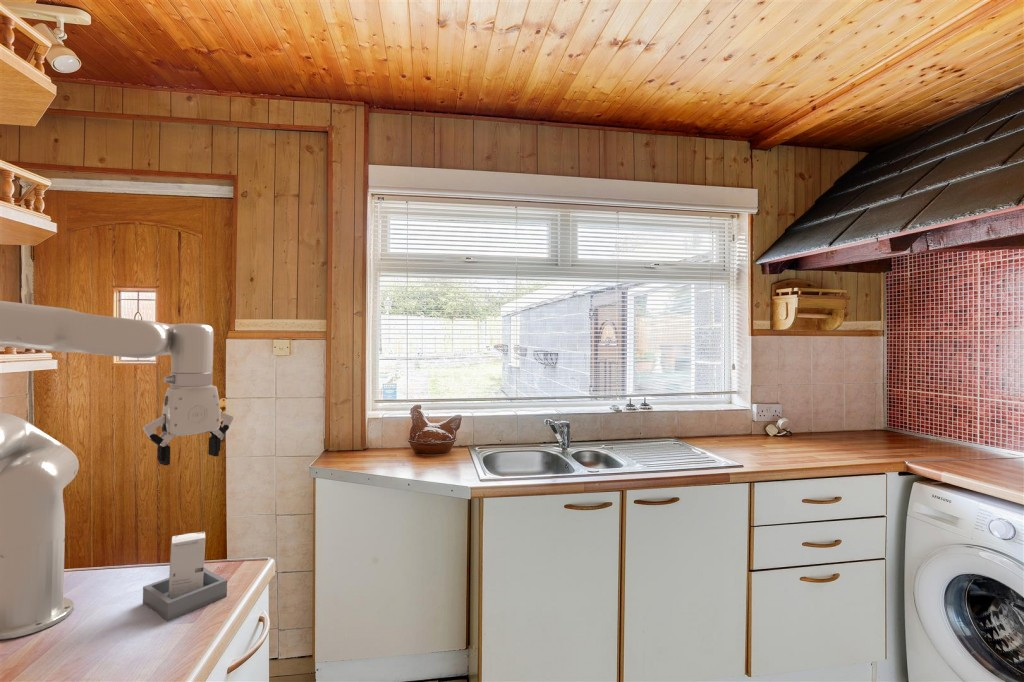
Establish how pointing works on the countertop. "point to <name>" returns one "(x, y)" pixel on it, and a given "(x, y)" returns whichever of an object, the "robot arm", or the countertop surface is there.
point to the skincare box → (186, 564)
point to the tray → (183, 596)
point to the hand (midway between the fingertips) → (189, 459)
